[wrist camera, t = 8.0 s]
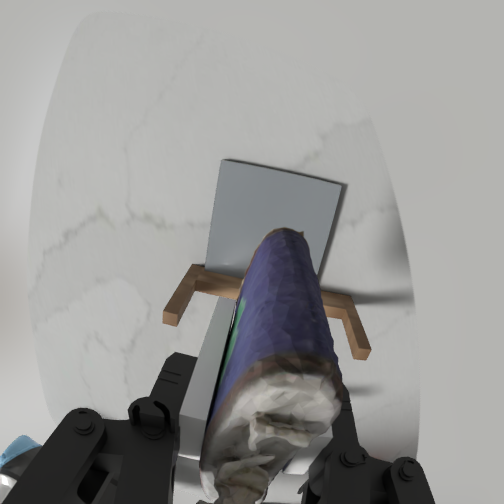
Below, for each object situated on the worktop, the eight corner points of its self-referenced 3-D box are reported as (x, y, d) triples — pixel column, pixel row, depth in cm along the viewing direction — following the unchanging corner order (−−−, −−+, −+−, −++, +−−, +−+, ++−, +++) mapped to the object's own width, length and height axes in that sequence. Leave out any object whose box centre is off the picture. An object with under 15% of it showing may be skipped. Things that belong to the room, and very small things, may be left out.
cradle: (183, 371, 36) (161, 429, 27) (192, 264, 30) (158, 318, 21) (308, 394, 36) (311, 455, 27) (350, 296, 30) (374, 357, 21)
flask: (268, 376, 17) (251, 547, 7) (221, 365, 17) (176, 533, 7) (320, 233, 13) (388, 450, 3) (257, 216, 13) (193, 426, 3)
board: (206, 267, 30) (204, 270, 30) (222, 159, 26) (221, 160, 26) (310, 288, 30) (311, 292, 30) (340, 184, 26) (341, 185, 26)
